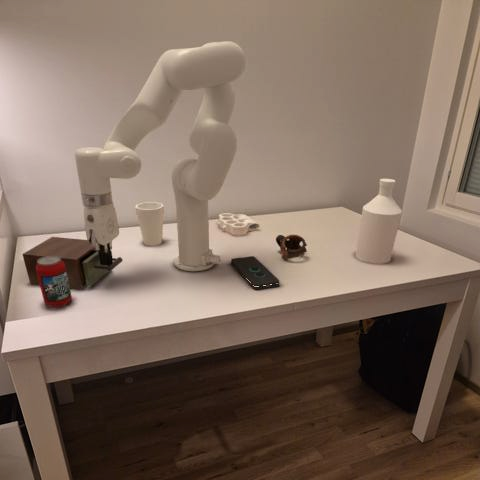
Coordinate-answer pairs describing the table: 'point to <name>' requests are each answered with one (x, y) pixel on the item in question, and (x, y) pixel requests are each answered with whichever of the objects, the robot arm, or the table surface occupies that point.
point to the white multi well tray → (237, 223)
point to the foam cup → (150, 222)
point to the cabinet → (67, 252)
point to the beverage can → (53, 281)
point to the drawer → (95, 267)
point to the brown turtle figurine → (291, 246)
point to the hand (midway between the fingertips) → (106, 264)
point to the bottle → (379, 226)
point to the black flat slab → (254, 272)
